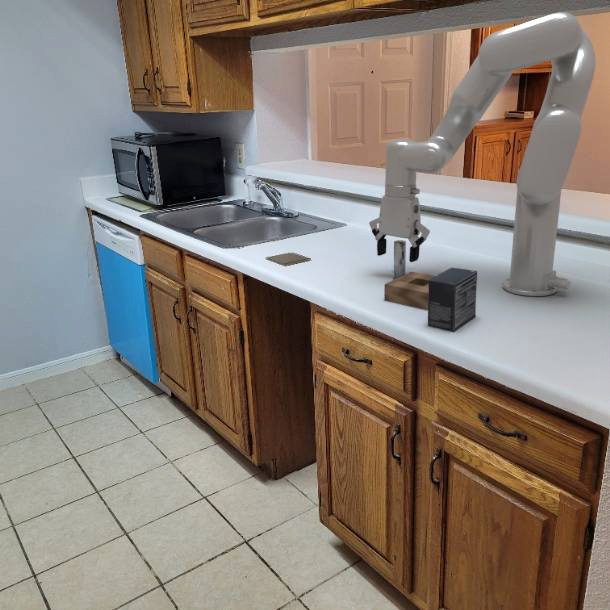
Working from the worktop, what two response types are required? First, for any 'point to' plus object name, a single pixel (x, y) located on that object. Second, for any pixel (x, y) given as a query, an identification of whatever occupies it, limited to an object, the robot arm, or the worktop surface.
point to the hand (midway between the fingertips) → (397, 257)
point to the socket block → (409, 290)
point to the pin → (399, 258)
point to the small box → (452, 299)
